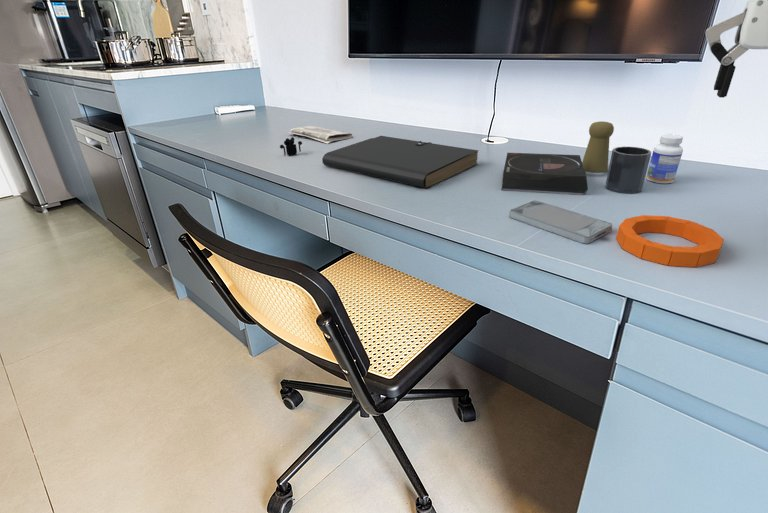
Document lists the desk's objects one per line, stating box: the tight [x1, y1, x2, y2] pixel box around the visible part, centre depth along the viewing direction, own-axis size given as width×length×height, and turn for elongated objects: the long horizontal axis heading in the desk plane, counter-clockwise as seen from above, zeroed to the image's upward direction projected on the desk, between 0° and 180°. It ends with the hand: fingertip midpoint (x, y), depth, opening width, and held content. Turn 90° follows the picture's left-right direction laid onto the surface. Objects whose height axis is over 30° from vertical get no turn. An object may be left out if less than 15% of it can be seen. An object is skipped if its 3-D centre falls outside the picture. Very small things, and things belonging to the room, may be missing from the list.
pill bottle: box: [646, 133, 684, 184], centre depth 94 cm, size 5×5×10 cm
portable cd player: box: [501, 152, 588, 196], centre depth 98 cm, size 16×17×4 cm
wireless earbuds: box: [279, 136, 303, 157], centre depth 128 cm, size 7×2×5 cm, turn 126°
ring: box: [616, 214, 724, 268], centre depth 68 cm, size 14×14×2 cm
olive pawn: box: [582, 121, 615, 173], centre depth 103 cm, size 6×6×11 cm
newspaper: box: [287, 125, 353, 145], centre depth 150 cm, size 23×12×2 cm, turn 43°
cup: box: [604, 146, 652, 194], centre depth 91 cm, size 7×7×8 cm
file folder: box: [322, 135, 479, 189], centre depth 113 cm, size 33×4×24 cm
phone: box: [509, 200, 613, 245], centre depth 78 cm, size 8×16×1 cm, turn 37°
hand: (765, 97), depth 58 cm, fingers open, 9 cm apart
